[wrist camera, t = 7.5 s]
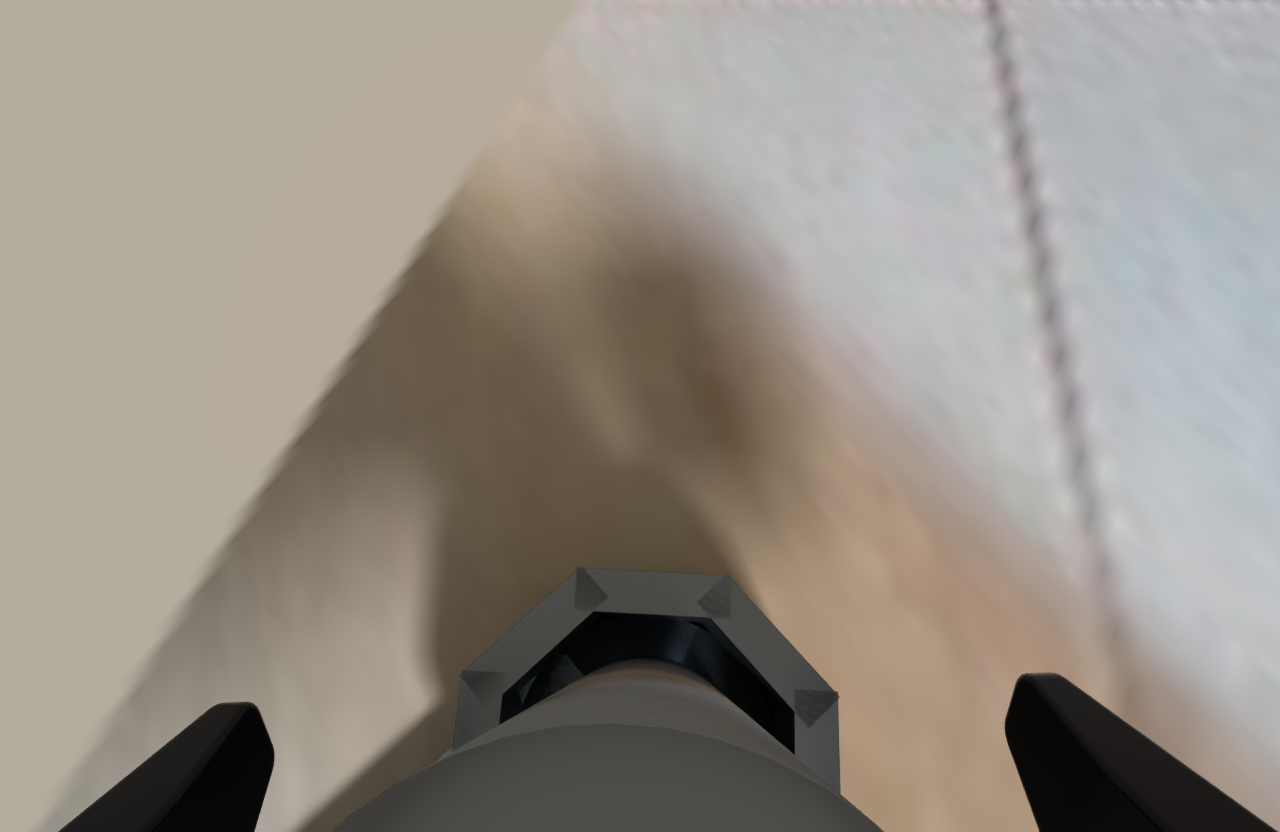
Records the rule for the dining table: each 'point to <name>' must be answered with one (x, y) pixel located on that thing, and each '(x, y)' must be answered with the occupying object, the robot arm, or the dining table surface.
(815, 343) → the dining table surface
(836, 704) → the hinge leaf
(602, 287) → the dining table surface
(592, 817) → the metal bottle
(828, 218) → the dining table surface
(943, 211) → the dining table surface
